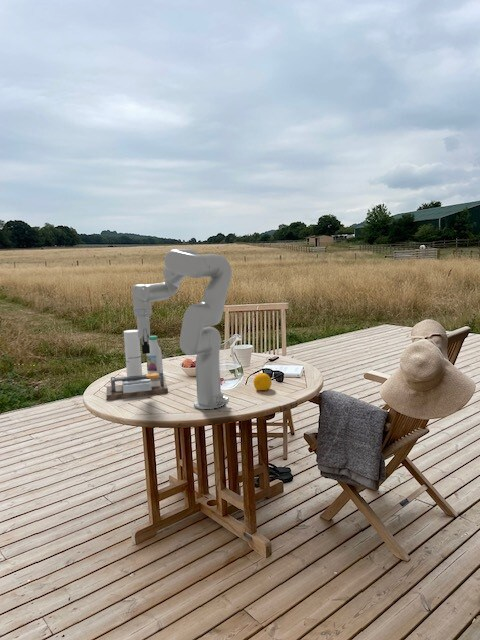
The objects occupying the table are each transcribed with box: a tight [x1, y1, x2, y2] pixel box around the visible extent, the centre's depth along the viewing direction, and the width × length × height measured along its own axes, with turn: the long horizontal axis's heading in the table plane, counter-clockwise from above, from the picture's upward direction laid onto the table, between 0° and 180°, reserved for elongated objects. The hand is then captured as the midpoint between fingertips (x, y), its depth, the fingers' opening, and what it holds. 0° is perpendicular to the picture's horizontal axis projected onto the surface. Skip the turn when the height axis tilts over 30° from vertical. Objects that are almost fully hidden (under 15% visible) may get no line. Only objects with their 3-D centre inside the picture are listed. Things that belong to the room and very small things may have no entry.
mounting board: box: [106, 380, 169, 401], centre depth 203 cm, size 26×14×2 cm, turn 106°
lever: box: [112, 373, 160, 382], centre depth 202 cm, size 20×4×1 cm, turn 106°
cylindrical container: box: [123, 329, 143, 377], centre depth 217 cm, size 7×7×25 cm
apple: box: [253, 372, 272, 391], centre depth 198 cm, size 8×8×8 cm
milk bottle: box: [145, 335, 164, 377], centre depth 229 cm, size 8×8×20 cm
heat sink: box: [110, 370, 165, 393], centre depth 202 cm, size 23×14×6 cm, turn 106°
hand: (146, 353), depth 202 cm, fingers closed
